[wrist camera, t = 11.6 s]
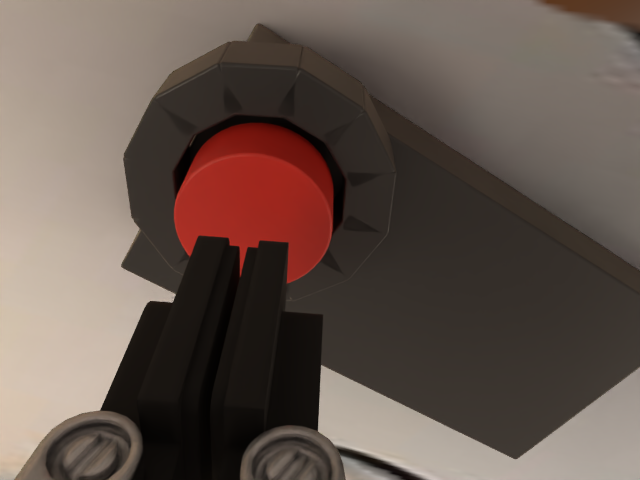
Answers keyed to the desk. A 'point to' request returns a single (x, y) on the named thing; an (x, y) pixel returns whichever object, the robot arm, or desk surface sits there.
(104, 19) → the desk surface
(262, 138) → the power button
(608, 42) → the desk surface
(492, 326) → the box
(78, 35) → the desk surface
